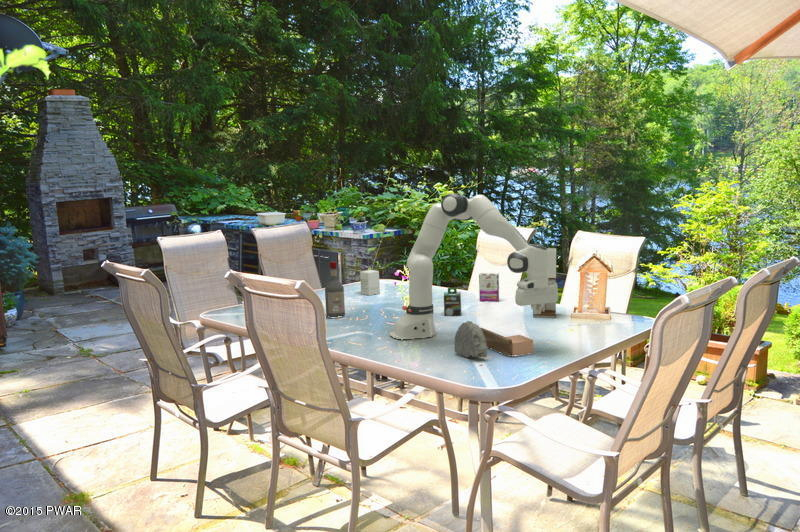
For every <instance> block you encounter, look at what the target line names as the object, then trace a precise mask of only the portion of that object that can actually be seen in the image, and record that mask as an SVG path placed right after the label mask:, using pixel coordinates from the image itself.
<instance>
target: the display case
mask: <svg viewBox="0 0 800 532" xmlns="http://www.w3.org/2000/svg"><path fill="white" fill-rule="evenodd" d="M546 248H547V247H546ZM547 250H548V257H549V266H548V270H547V271H548V281H555V282H556V283H557V248H556V247H555V248H553V247H552V248H550V247H549V248H547ZM556 303H557V302H552V303H543V307H542V309H541V314H533V313H532V317H533V319H556V318H557V312H556V311H557V306H556V305H557V304H556ZM538 306H539V305H538V304H536V307H535V308H536V309H537V308H538Z"/></svg>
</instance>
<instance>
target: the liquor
mask: <svg viewBox="0 0 800 532" xmlns="http://www.w3.org/2000/svg"><path fill="white" fill-rule="evenodd" d="M337 267H338V266H337V261H330V262H329V268H330V279H329V281H328V282H327V283H326V284H325V287H324V295H325V296H324V297H325V314H327V315H326V317H327V316H329V317H338V316H344V315H345V316H346V307H345V306H346V305H345V288H344V285H343V283H341V281H339V280H338V274H337V273H338V272H337ZM345 316H344V317H345ZM329 317H328V318H329Z"/></svg>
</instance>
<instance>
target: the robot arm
mask: <svg viewBox="0 0 800 532" xmlns="http://www.w3.org/2000/svg"><path fill="white" fill-rule="evenodd" d="M471 219H473V220H474V221H475V223H476V224H477V225H478V227H479V228H480V230H481V231H482V232H484V233H485V234H486V235H488V236H492V237H498V238H500V239H504V240H506V241H507V242H508V243H509V244H510V245H511V246H512V247H513V248H514V249H515V251H513V252H511V253H509V255H508V256H507V261H506V264H507V267H508V269H509V271H511V272H513V273H515V274H522V273H526V275H527V276H526V277H525V278H523V279H522V280H519V281H517V282H516V286H517V288H516V290H515V297H514V298H515V304H516V305H517V306H520V307H523V306H524V307H525V306H530V307H531V309H532V315H533V314H541V309H542V307H543V303H552V302H556V303H557V302H558V300H559V291H558V283H557V281H556V282H555V281H548V271H547V270H548V266H549V257H548V250H547V247H546V246H545V245H542V244H540V243H531V244H530V243H529V242H528V241H527V240H526V238H525V237H524V236H523V235H522V234H521V233H520V232H519V231H518V229H517V228H515V226H514V225H513V224H511V222H509V221H508V220H507V219H506V218H505V216H503V214H502V213H501V212H500V210H499V209H498V208H497V207H496V206H495V204H493V202H492V201H491V200H490V199H489V198H488V197H487V196H485V195H484V194H477V195H474V196H473V197H471V198H468V197H466V196H465V195H461V194H458V193H452V192H451V193H448V194H446V195H445V196H444V197H443V198H442V199H441V202H440V203H439V202H438V203H434V204H432V205H431V207H430V209H429V210H428V212H427V214H426V215H425V217H424V220H423V223H422V225H421V228H420V231H419V233H418V236H417V237H416V241H415V242H414V244H413V247H412V248H411V251H410V253H409V255H408V258H407V259H406V266H407V269H408V270H409V286H408V302H409V304H408V306H406V305H403V306H402V307H401V309H402V310H403V311H406V312H405V314H404V315H402V316H401V317H400V318H399V319H398V320H396V322H395V324H394V328H393V329H394V330H393V331H390V332H389V336H390V337H391V336H392V337H393V339H394V338H396V339H395V340H397V339H401V340H400V341H404V340H403V339H412V340H415V339H414V338H422V339H427V338H426V337H431V338H433V337H432V336H435V335H436V334H437V330H436V326H435V321H434V320H435V319H434V314H435V313H434V304H433V281H434V280H433V279H434V262H433V259H434V257H435V254H436V253H437V251H438V249H439V248H440V246H441V244H442V241H443V239H444V235H445V233H446V230H447V227H448V226H449V225H448V224H449V223H450V222H451V221H452V220H453V221H463V222H464V221H469V220H471ZM536 304H538V305H539V306H538V308H537V309H536V308H535V307H536ZM392 337H391V338H392Z"/></svg>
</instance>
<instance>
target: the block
mask: <svg viewBox="0 0 800 532" xmlns="http://www.w3.org/2000/svg"><path fill="white" fill-rule="evenodd" d="M505 337H506V338H509V339H511V340H512V355H513V356H514V355H521V354H526V355H529V354H528V353H532V354H534V339H531V338H529V337H526V336H525V335H521V334H515V335H510V336H505ZM513 356H512V357H513ZM521 356H522V355H521Z"/></svg>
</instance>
